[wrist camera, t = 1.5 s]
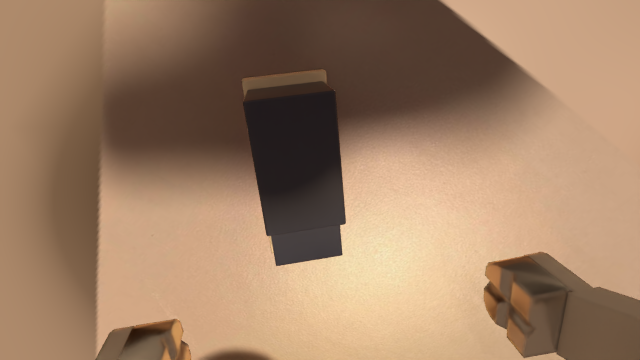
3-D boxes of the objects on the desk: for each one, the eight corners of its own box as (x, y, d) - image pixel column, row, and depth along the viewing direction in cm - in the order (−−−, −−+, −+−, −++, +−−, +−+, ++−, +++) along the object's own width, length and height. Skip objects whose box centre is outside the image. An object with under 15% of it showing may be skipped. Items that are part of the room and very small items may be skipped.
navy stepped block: (242, 78, 20) (236, 90, 16) (322, 68, 21) (339, 78, 16) (271, 244, 25) (272, 291, 20) (337, 233, 25) (354, 278, 20)
